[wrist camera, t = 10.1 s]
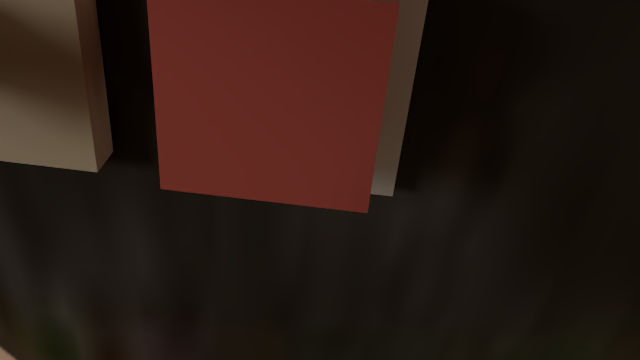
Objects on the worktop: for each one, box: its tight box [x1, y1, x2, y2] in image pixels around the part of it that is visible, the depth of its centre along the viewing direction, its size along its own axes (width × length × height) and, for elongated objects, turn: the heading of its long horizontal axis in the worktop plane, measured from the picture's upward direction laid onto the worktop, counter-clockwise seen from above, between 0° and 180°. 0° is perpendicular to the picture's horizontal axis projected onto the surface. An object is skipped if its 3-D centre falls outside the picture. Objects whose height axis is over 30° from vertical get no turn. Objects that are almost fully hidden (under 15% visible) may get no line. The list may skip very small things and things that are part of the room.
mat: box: [370, 0, 428, 196], centre depth 19 cm, size 10×8×1 cm
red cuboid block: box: [147, 0, 400, 213], centre depth 17 cm, size 6×6×4 cm
